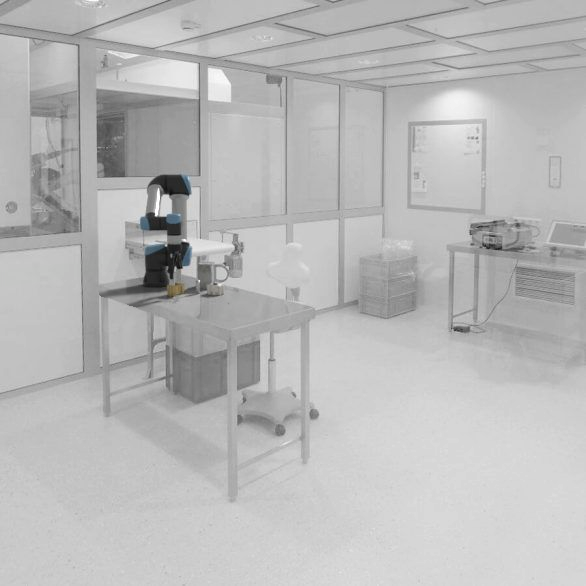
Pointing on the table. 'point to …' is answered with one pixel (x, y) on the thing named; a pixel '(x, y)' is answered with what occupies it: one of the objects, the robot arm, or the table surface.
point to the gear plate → (197, 287)
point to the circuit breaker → (206, 274)
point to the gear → (215, 289)
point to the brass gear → (175, 289)
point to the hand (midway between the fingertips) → (175, 283)
